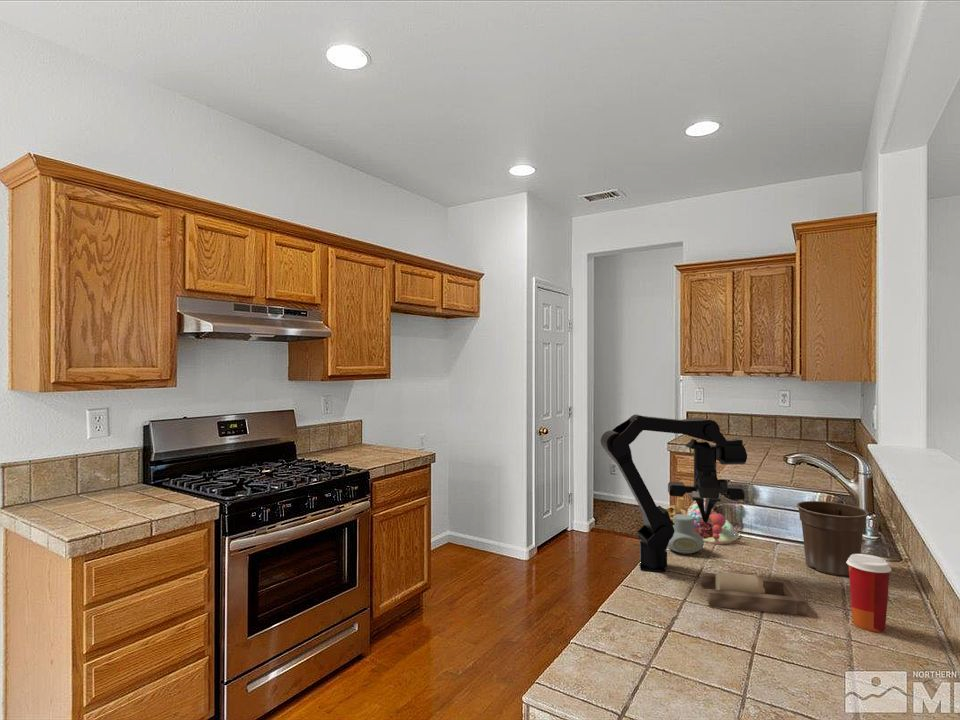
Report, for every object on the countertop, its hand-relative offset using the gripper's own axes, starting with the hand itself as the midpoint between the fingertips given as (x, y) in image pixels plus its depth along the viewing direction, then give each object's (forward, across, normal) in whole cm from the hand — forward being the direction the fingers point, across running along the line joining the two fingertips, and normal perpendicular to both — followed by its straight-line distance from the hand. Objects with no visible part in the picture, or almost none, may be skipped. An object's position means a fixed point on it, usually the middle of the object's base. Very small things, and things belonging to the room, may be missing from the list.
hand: (704, 522), depth 147 cm
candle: (+9, 0, -19) cm, 21 cm away
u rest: (+12, +6, -19) cm, 23 cm away
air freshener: (+12, -4, +12) cm, 17 cm away
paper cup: (+12, +28, -27) cm, 41 cm away
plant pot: (+12, +33, +7) cm, 36 cm away
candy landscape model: (+13, +3, +33) cm, 35 cm away
